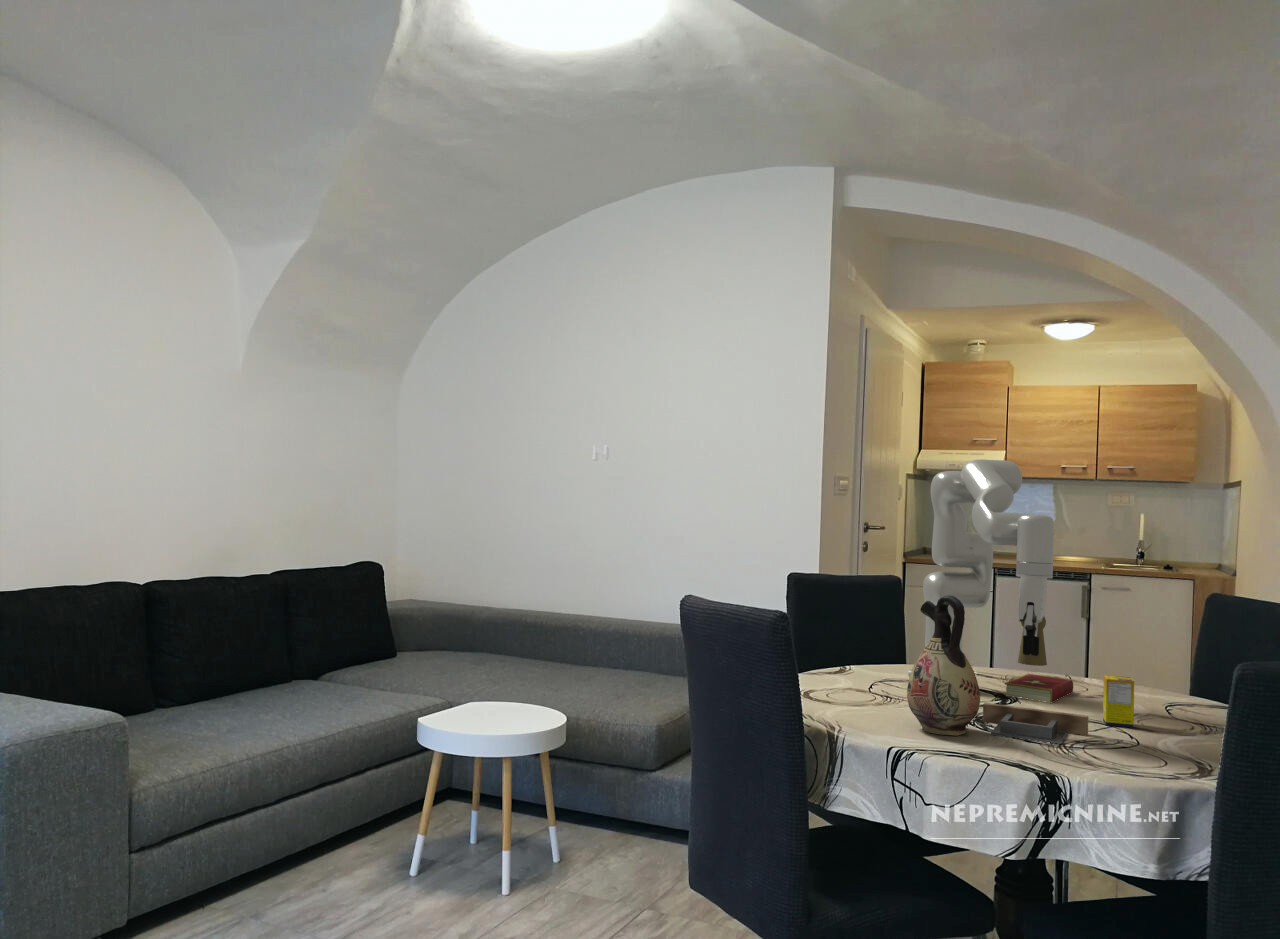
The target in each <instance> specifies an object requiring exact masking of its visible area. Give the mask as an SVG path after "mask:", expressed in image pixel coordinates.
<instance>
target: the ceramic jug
mask: <svg viewBox="0 0 1280 939" xmlns="http://www.w3.org/2000/svg"><path fill="white" fill-rule="evenodd" d="M949 605H950V606H951V607H952V608H953V613H954V620H953V626H952V633H951V629H950V625H951V623H952V618H951V616H950V614H949V611H948V606H949ZM920 612H921V614H923V615H924V616H925V617H926V616H928V617H930V618H931V619H932V620H933V621H934V622H935V631H934V635H933V637H932V638H931V640H930V642H929V643H928V644H927V646H926V647H925V646H924V648H923V650H922V651H921V653H920V655H919V656H918V658H917V659H916V661H915V663H914V665H913V667H912V668H911V670H912V672H911V674H910V677H909V676H908V677H909V678H908V682H907V683H908V684H907V687H906V697H907V698H906V699H907V703H908V707H909V710H910V711H911V712H912V714H913V715H914V717H915V718H916V719H917V720H918V723H919V725H920V726H921V729H922V731H924V732H925V733H928V734H929V733H930V734H935V735H941V736H955V737H956V736H961V735H963V734H966V733H967V726H968V725H969V724H970V723H971V722H972V721H973V720H974V719H975V717H976V715H978V713H979V710H980V704H981V692H980V688H979V687H980V686H979V682H978V679H977V676H976V674H975V670H974V669H973V667H972V665H971V663H970V662H969V660H968V658H967V657H966V654H965V653H964V652H963V651H961V650H960V640H961V637H962V638H963V631H964V625H965V620H966V618H965V614H966V612H965V607H964V606H963V604H962V603H961V601H960V600H959V599H957V598H956V597H954V596H951V595H947V596H943V597H942V598H940V599H939V600H938V602H937V605H936V606H935V605H934V604H933V603H932V602H930V601H926V602H925V601H924V603H923V604H922V605H921V607H920Z"/></svg>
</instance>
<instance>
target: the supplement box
mask: <svg viewBox="0 0 1280 939" xmlns="http://www.w3.org/2000/svg"><path fill="white" fill-rule="evenodd" d="M1102 695H1103V696H1102V697H1103V704H1102V706H1103V707H1102V708H1103V709H1102V713H1103V714H1102V721H1103V723H1104V725H1105V724H1106V725H1105V726H1112V727H1123V728H1130V729H1133V728H1134V726H1135V725H1134V724H1135V680H1134V679H1133V678H1132V676H1123V675H1122V676H1121V675H1119V676H1118V675H1112V674H1111V675H1110V674H1109V675H1108V674H1104V675H1103V694H1102Z"/></svg>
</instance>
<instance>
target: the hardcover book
mask: <svg viewBox="0 0 1280 939" xmlns="http://www.w3.org/2000/svg"><path fill="white" fill-rule="evenodd" d="M1004 685H1005V687H1006V688H1005V694H1006V695H1005V697H1007V696H1014V697H1022V698H1028V699H1033V700H1032V701H1034V700H1040V701H1046V702H1045V703H1047V702H1053V701H1055V700H1057V699H1059V698H1061V697H1063V696H1065V695H1067V694H1069V693H1071V692H1074V681H1073V679H1069V678H1062V677H1056V676H1048V675H1042V674H1041V675H1040V674H1033V673H1026V674H1024V675H1022V676H1019V677H1016V678H1014V679H1013V678H1012V679H1011V680H1009V681H1006V682H1004ZM1071 694H1072V693H1071ZM1069 695H1070V694H1069ZM1067 696H1068V695H1067ZM1014 697H1013V698H1014ZM1065 697H1066V696H1065ZM1063 698H1064V697H1063ZM1061 699H1062V698H1061ZM1059 700H1060V699H1059ZM1040 701H1039V702H1040ZM1057 701H1058V700H1057ZM1055 702H1056V701H1055ZM1053 703H1054V702H1053Z"/></svg>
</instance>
